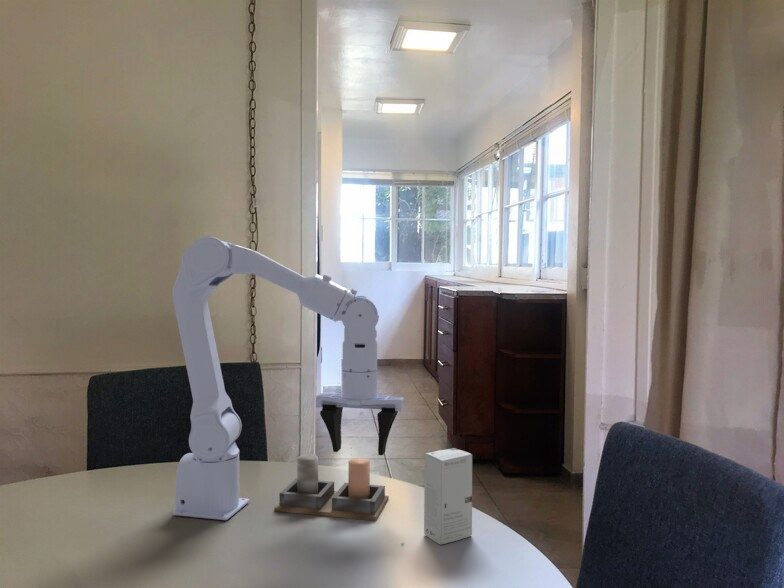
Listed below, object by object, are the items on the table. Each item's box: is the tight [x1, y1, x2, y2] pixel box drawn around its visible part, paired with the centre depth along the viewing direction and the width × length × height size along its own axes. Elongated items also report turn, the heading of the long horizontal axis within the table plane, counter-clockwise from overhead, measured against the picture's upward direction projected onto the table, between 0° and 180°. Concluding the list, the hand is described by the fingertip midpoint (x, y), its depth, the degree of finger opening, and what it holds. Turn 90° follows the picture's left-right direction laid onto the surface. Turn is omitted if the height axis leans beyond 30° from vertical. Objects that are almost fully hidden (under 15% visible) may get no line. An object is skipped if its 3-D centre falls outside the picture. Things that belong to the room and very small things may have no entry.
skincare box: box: [423, 447, 473, 546], centre depth 82 cm, size 6×4×12 cm
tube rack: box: [274, 454, 390, 522], centre depth 93 cm, size 17×9×8 cm, turn 78°
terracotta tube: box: [347, 457, 371, 499], centre depth 92 cm, size 4×4×7 cm
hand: (359, 451), depth 92 cm, fingers open, 7 cm apart
